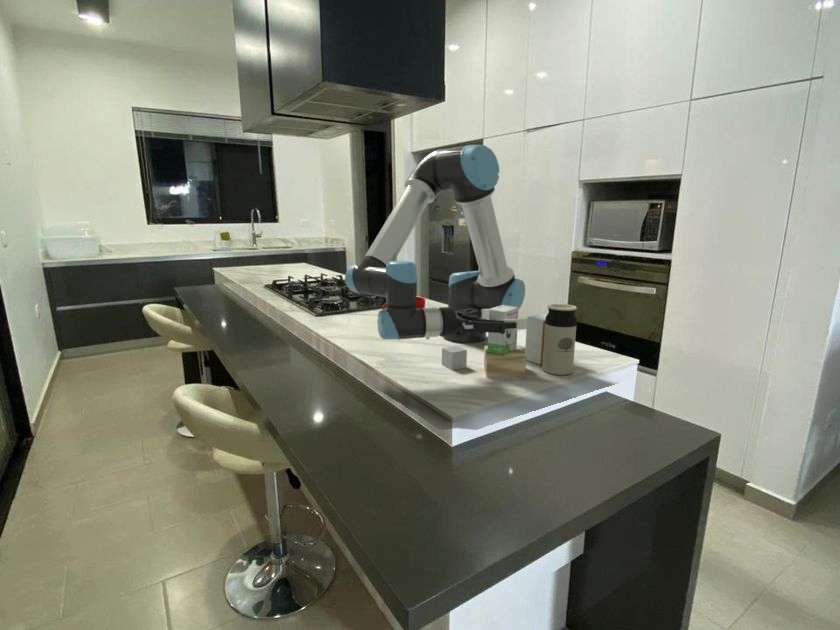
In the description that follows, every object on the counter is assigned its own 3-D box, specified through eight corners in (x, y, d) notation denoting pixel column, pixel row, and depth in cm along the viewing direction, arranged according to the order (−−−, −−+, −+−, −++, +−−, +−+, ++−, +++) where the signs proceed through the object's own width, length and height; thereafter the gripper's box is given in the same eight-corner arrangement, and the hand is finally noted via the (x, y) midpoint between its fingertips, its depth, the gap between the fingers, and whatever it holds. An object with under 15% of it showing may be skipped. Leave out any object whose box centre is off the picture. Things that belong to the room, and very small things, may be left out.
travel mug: (540, 365, 127) (544, 303, 123) (569, 366, 126) (573, 303, 122) (544, 375, 119) (549, 308, 115) (575, 376, 118) (581, 309, 114)
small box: (540, 365, 127) (543, 320, 125) (524, 359, 132) (526, 316, 130) (559, 360, 132) (562, 317, 129) (542, 355, 137) (545, 313, 134)
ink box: (503, 355, 116) (505, 311, 114) (486, 352, 119) (487, 309, 117) (517, 348, 123) (519, 306, 121) (500, 345, 126) (502, 304, 123)
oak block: (483, 365, 127) (484, 345, 126) (519, 366, 126) (520, 346, 125) (486, 377, 117) (487, 355, 116) (524, 379, 117) (526, 356, 115)
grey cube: (441, 365, 127) (442, 348, 126) (456, 362, 129) (456, 345, 128) (451, 370, 123) (452, 352, 122) (466, 367, 125) (466, 350, 124)
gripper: (425, 325, 127) (494, 321, 133) (454, 349, 104) (536, 343, 109) (425, 299, 126) (495, 296, 131) (455, 317, 102) (538, 313, 107)
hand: (514, 318), depth 120 cm, fingers open, 13 cm apart
